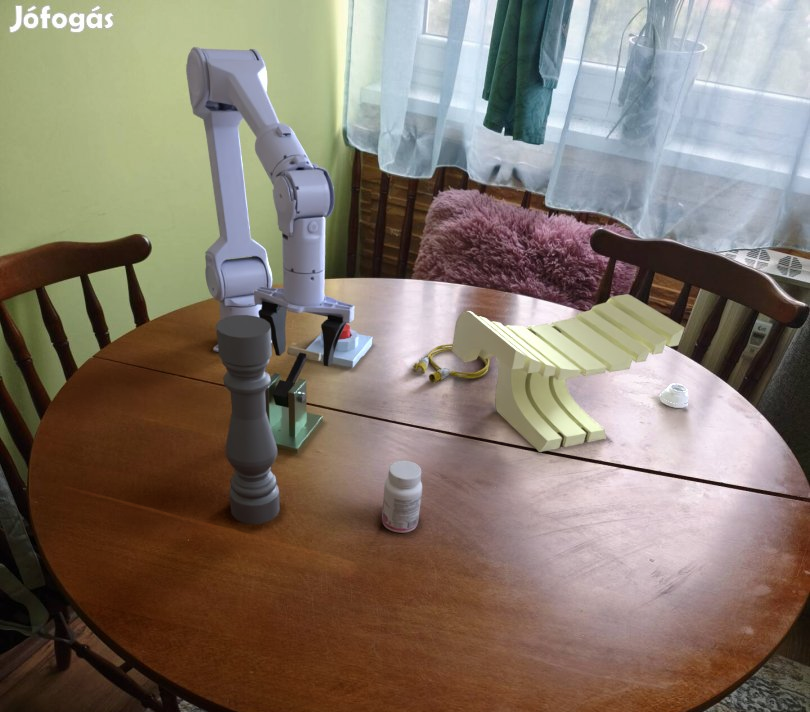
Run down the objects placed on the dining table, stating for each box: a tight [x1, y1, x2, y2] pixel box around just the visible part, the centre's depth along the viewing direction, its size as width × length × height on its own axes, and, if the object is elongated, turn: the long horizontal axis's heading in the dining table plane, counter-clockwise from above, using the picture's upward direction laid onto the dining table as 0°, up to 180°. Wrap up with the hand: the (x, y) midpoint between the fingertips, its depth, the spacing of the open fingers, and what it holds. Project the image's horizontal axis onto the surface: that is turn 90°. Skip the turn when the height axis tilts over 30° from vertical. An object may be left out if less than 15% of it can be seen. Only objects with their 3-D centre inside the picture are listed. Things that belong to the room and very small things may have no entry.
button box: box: [305, 327, 373, 369], centre depth 125 cm, size 11×9×4 cm
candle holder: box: [215, 315, 281, 525], centre depth 81 cm, size 6×6×25 cm
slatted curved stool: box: [451, 294, 686, 453], centre depth 108 cm, size 30×16×18 cm, turn 115°
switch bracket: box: [265, 372, 324, 454], centre depth 101 cm, size 10×8×8 cm
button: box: [339, 323, 351, 339], centre depth 123 cm, size 4×4×2 cm
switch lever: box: [273, 346, 321, 408], centre depth 101 cm, size 10×5×2 cm, turn 164°
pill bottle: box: [381, 460, 423, 534], centre depth 87 cm, size 5×5×8 cm
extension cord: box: [413, 343, 490, 384], centre depth 125 cm, size 12×16×2 cm
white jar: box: [658, 383, 690, 409], centre depth 122 cm, size 5×3×5 cm
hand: (304, 358), depth 104 cm, fingers open, 7 cm apart
